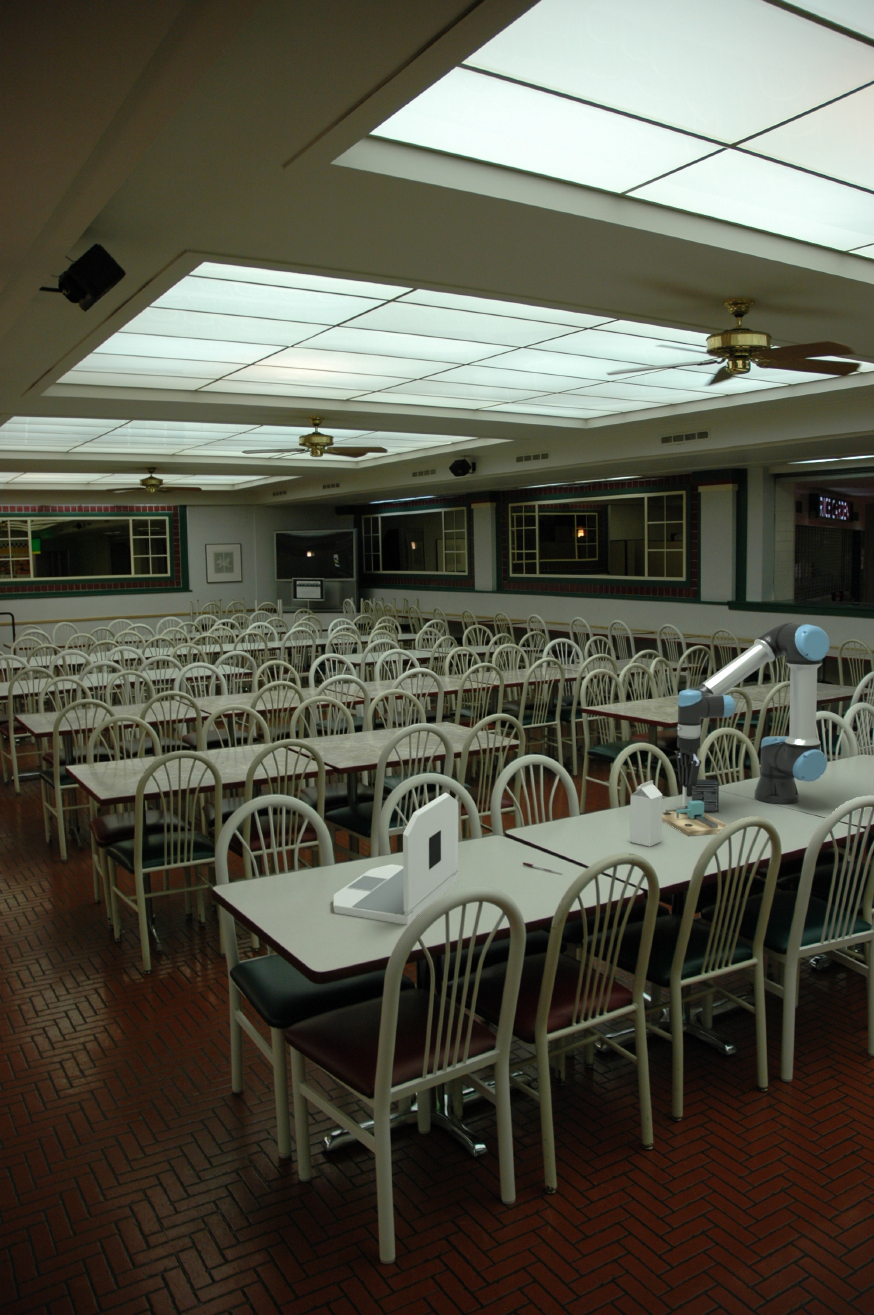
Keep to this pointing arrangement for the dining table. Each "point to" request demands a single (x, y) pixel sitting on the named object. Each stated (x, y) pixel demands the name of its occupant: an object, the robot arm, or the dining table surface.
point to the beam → (697, 818)
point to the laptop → (409, 869)
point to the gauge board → (691, 824)
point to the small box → (707, 794)
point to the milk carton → (646, 815)
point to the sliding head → (693, 809)
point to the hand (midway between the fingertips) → (687, 805)
